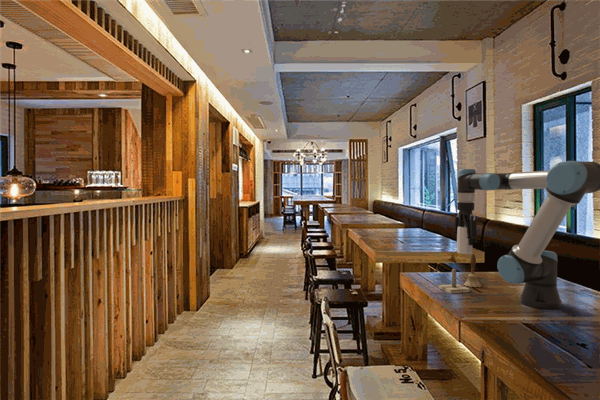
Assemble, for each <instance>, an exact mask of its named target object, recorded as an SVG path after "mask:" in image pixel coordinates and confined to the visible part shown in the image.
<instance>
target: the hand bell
mask: <svg viewBox="0 0 600 400" xmlns="http://www.w3.org/2000/svg"><path fill="white" fill-rule="evenodd" d="M469 261H470V273H469V274H468V275H467V277H466V278H467V279H466V280H465V282H464V283H463V286H464V285H465V286H464V287H466V286H469V287H468V288H472V287H479V288H481V287H482V284H481V283H480V281H479V280H478V279H479V278H478V276H479V275H477V274H476V272H475V269H476V268H475V267H476V264H477V263H476V262H477V259H476V255H475V254H474V253H472V254H471V256H470V259H469Z"/></svg>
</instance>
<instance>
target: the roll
mask: <svg viewBox="0 0 600 400" xmlns="http://www.w3.org/2000/svg"><path fill="white" fill-rule="evenodd" d="M456 231H457V235H456V253H457V254H462V255H472V254H473V251H472V252H466V240H467V237H468V235H467V228H466V226H464V227H458V229H457V230H456Z"/></svg>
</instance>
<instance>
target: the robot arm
mask: <svg viewBox="0 0 600 400" xmlns="http://www.w3.org/2000/svg"><path fill="white" fill-rule="evenodd" d="M543 189H545V192H546V197H545V199H544V201H542V204H541V206H540V207H539V209H538V210H537V213H535V216H534V218H533V220H532V221H531V223H530V225H529V226H528V228H527V229H526V232H525V233H524V235H523V237H522V238H521V240H520V241H519V243H518V244H514V245H513V246H512V247H511V249H510V251H509V252H508V254H505V255H502V256H501V257H499V258H498V261H497V264H496V265H497V270H498V274H499V276H500V278H502V280H503V281H505V282H506V283H508V284H512V285H520V284H524V287H523V289H522V294H520V299H519V301H520V303H521V304H523V305H524V306H527V307H531V308H537V309H545V310H546V309H547V310H555V309H560V308H562V305H563V304H562V303H563V301H562V299H561V297H560V294H559V290H558V262H559V260H558V254H557V253H556V252H555V251H551V250H546V248H547V246H548V245H549V243H550V241H551V240H552V238H553V236H554V235H555V233H556V232H557V230H558V229H559V227H560V225H561V224H562V222H563V221H564V219H565V217H566V216H567V215H568V213H569V211H570V209H571V207H572V206H575V205H578V204H580V203H581V201H582V199H583V197H584V196H585V194H592V193H596V192H599V191H600V163H598V162H596V161H595V162H594V161H577V160H567V161H566V160H565V161H561V162H557V163H556V164H554V165H553V166H552V167H551V168H549V170H548V169H547V170H535V171H534V170H533V171H518V172H506V173H505V172H503V173H502V172H499V173H497V172H496V173H495V172H481V173H480V172H476V169H474V168H459V170H458V174H457V196H456V198H457V199H456V200H457V202H456V203H457V204H456V205H457V206H456V209H457V210H458V212H455V213H454V225H453V226H454V227H453V234H455V235H456V236H457V229H458V227H466V228H467V235H468V237H467V240H466V252H472V253H473V246H474V239H475V238H477V231H478V230H477V219H478V218H477V217H478V216H477V215H474V214H473V211H474V210H475V202H474V201H475V192H476V190H478V191H479V190H480V191H487V192H488V191H497V190H501V191H502V190H503V191H505V190H506V191H510V190H511V191H512V190H543Z"/></svg>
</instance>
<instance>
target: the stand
mask: <svg viewBox="0 0 600 400" xmlns="http://www.w3.org/2000/svg"><path fill="white" fill-rule="evenodd" d="M438 289H440V290H442V291H444V292H446V293H449V294H460V293H462V292H463V293H470V291H471V289H470V287H466V286H464V285H461V284H458V283H457V269H456V268H452V270H451V284H438Z"/></svg>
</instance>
